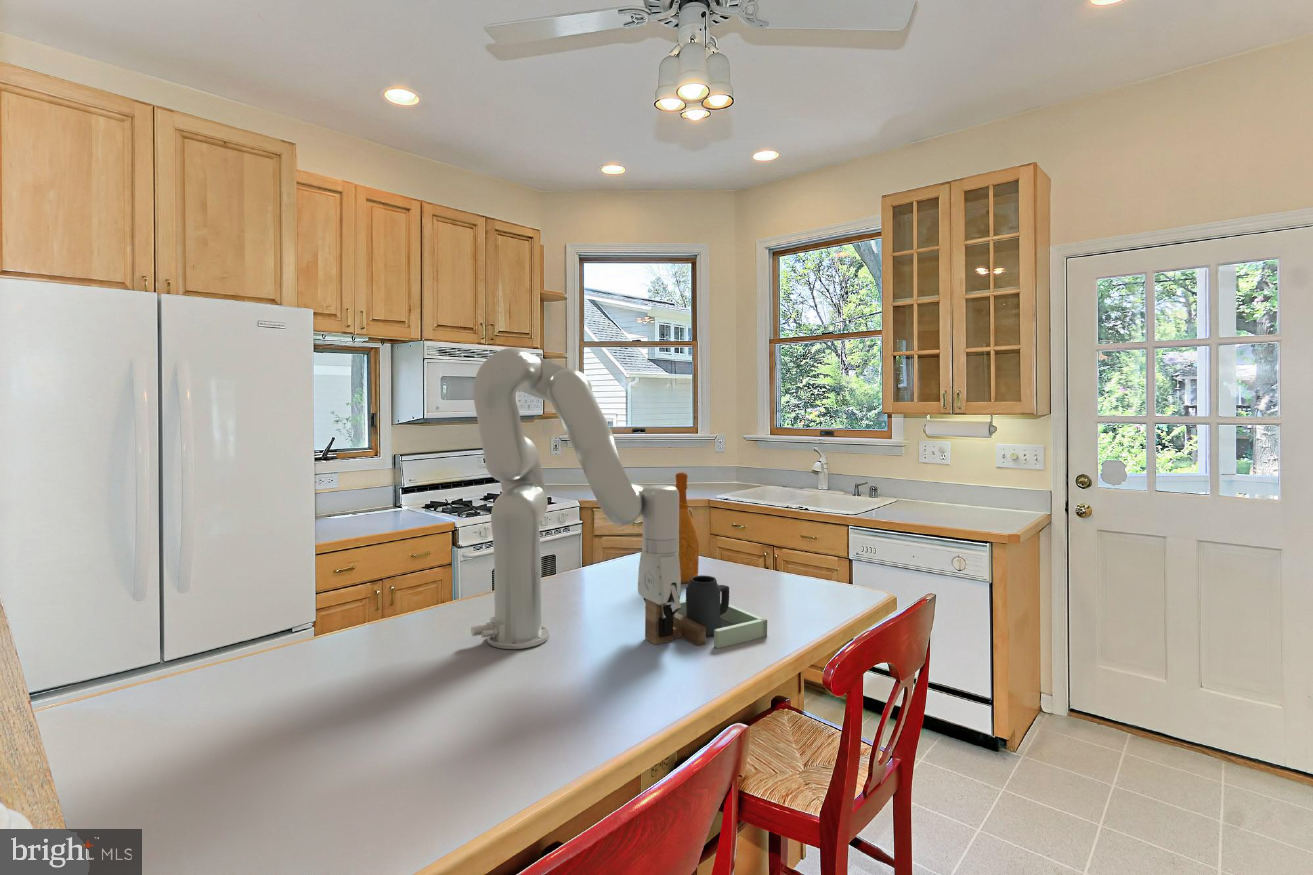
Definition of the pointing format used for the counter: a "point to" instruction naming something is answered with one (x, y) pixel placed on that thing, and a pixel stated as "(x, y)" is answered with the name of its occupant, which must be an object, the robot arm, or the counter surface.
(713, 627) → the mug
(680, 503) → the wine bottle
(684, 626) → the wooden cross block
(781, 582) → the counter surface
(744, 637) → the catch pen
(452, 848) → the counter surface
